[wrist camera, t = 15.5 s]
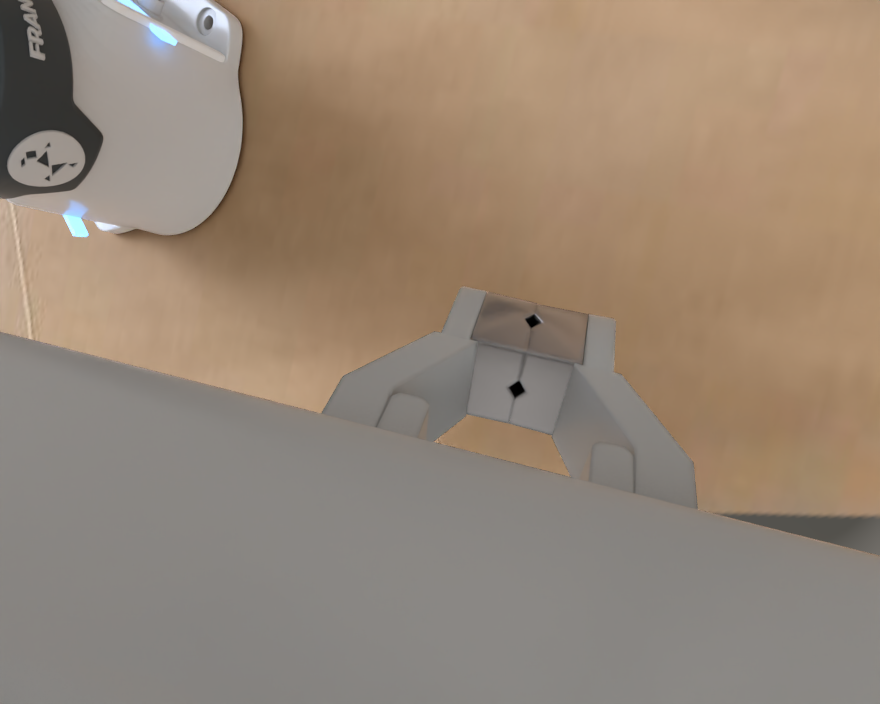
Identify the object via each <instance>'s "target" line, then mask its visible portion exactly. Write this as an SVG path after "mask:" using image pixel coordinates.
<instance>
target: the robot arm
mask: <svg viewBox="0 0 880 704" xmlns="http://www.w3.org/2000/svg"><path fill="white" fill-rule="evenodd" d="M241 48H242V26H241V23H240V21H239V20H238V19H237V18H236V17H235V16H234V15H233V14H232V13H230V12H229V11H228V10H226V9H225V8H224V7H222V6H221V5H220V4H218V3H217V2H216V1H214V0H0V198H3V199H6V200H7V201H9V202H10V203H13V204H15V205H18V206H23V207H27V208H32V209H37V210H41V211H46V212H51V213H56V214H60V215H63V216H64V218H65V220H66V222H67V224H68V226H69V229H70V231H71V233H72V235H73V236H78V237H87V236H88V235H89V234H88V232H87V230H86V228H85V226H84V224H83V222H82V220H81V219H85V220H90V221H94V222H95V224H96V225H97V227H98V228H99V229H100V230H102V231H105V232H109V233H114V234H120V233H125V232H128V231H131V230H134V229H140V230H144V231H148V232H151V233H155V234H159V235H177V234H181V233H184V232H187V231H189V230H191V229H193V228H195V227H196V226H198V225H199V224H201V223H202V222H203V221H204V220H206V219H207V218H208V217H209V216H210V215H211V214H212V212H213V211H214V210H215V209H216V208H217V206H218V205H219V204H220V202H221V201H222V199H223V197H224V196H225V194H226V192H227V190H228V188H229V186H230V184H231V181H232V179H233V176H234V173H235V170H236V167H237V164H238V159H239V155H240V150H241V143H242V131H243V116H242V104H241V97H240V90H239V82H238V68H239V62H240V56H241ZM615 333H616V321H615V319H614V318H609V317H603V316H598V315H592V314H585V313H580V312H575V311H570V310H565V309H560V308H555V307H550V306H545V305H540V304H537V303H534V302H530V301H525V300H521V299H517V298H513V297H509V296H504V295H500V294H496V293H492V292H486V291H483V290H479V289H474V288H469V287H465V286H462V287H461V288H460V289H459V292H458V294H457V296H456V299H455V301H454V304H453V306H452V308H451V311H450V313H449V315H448V318H447V320H446V323H445V325H444V327H443V330H442V332H441V333H440V332H435V331H434V332H432V333H430V334H428V335H426V336H424V337H422V338H420V339H418V340H416V341H414V342H412V343H409V344H407V345H405V346H403V347H401V348H399V349H397V350H395V351H393V352H391V353H389V354H387V355H385V356H383V357H381V358H379V359H377V360H375V361H373V362H371V363H369V364H367V365H365V366H363V367H360V368H358V369H356V370H354V371H352V372H350V373H348V374H346V375H344V376H343V377H342V379H341V380H340V382H339V384H338V385H337V387H336V389H335V391H334V392H333V394H332V396H331V397H330V399H329V401H328V403H327V404H326V406H325V408H324V409H323V411H322V413H317V412H313V411H309V410H306V409H302V408H298V407H294V406H290V405H286V404H282V403H278V402H274V401H270V400H266V399H262V398H258V397H255V396H251V395H247V394H243V393H239V392H235V391H231V390H227V389H223V388H219V387H215V386H211V385H208V384H204V383H200V382H196V381H192V380H188V379H184V378H180V377H176V376H172V375H168V374H164V373H160V372H157V371H153V370H149V369H145V368H141V367H137V366H133V365H129V364H125V363H121V362H117V361H113V360H109V359H106V358H102V357H98V356H94V355H90V354H86V353H82V352H78V351H74V350H70V349H66V348H62V347H58V346H55V345H51V344H47V343H43V342H39V341H35V340H31V339H27V338H23V337H19V336H15V335H11V334H7V333H4V332H0V704H880V556H878V555H874V554H871V553H866V552H863V551H858V550H855V549H851V548H847V547H843V546H839V545H835V544H831V543H827V542H823V541H820V540H816V539H811V538H808V537H804V536H800V535H796V534H792V533H788V532H784V531H780V530H776V529H772V528H768V527H765V526H761V525H757V524H753V523H749V522H745V521H741V520H737V519H733V518H729V517H725V516H721V515H717V514H714V513H710V512H706V511H702V510H698V507H697V496H696V485H695V474H694V463H693V461H692V460H691V459H690V458H689V456H688V455H687V454H686V453H685V452H684V450H683V449H682V448H681V447H680V445H679V444H678V443H677V442H676V441H675V439H674V438H673V437H672V436H671V434H670V433H669V432H668V431H667V429H666V428H665V427H664V426H663V425H662V423H661V422H660V421H659V420H658V418H657V417H656V416H655V415H654V414H653V412H652V411H651V410H650V409H649V407H648V406H647V405H646V404H645V403H644V401H643V400H642V399H641V398H640V396H639V395H638V394H637V393H636V391H635V390H634V389H633V388H632V387H631V385H630V384H629V383H628V382H627V380H626V379H625V378H624V377H623V376H622V374H619V373H615V372H614V356H615ZM466 414H468V415H473V416H477V417H482V418H486V419H491V420H495V421H500V422H505V423H509V424H513V425H516V426H520V427H524V428H527V429H531V430H535V431H538V432H542V433H546V434H549V435H552V439H553V441H554V443H555V445H556V447H557V449H558V451H559V453H560V455H561V457H562V460H563V462H564V464H565V466H566V468H567V470H568V472H569V474H570V476H571V477H568V476H564V475H560V474H556V473H553V472H549V471H545V470H541V469H537V468H533V467H529V466H525V465H521V464H517V463H513V462H509V461H505V460H502V459H498V458H494V457H490V456H486V455H482V454H478V453H474V452H470V451H466V450H462V449H458V448H454V447H451V446H447V445H443V444H439V443H435V442H433V441H435V440H436V439H437V438H439V437H440V436H441V435H442V434H444V433H445V432H446V431H448V430H449V429H450V428H451V427H453V426H454V425H455V424H457V423H458V422H459V421H460V420H462V419H463V418H464V417H465V416H466ZM509 421H510V422H509Z"/></svg>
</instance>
